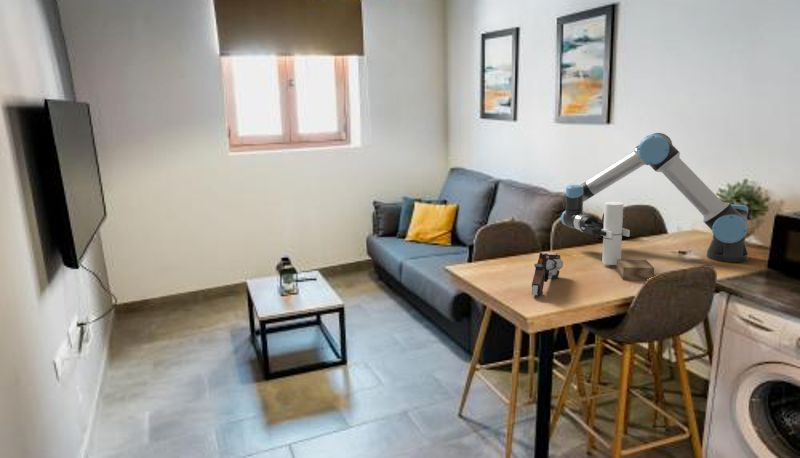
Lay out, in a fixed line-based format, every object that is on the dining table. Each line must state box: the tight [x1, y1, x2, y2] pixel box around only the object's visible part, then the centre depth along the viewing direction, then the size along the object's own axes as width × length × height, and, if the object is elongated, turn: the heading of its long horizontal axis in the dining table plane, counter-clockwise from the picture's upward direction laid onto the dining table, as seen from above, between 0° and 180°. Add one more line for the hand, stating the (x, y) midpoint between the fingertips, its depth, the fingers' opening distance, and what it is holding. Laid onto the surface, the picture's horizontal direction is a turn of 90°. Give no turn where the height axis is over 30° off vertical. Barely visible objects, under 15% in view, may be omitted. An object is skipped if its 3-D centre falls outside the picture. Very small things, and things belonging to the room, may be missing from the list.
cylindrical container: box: [601, 201, 624, 266], centre depth 226 cm, size 7×7×25 cm
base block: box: [615, 258, 655, 281], centre depth 215 cm, size 11×11×5 cm
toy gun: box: [531, 252, 564, 296], centre depth 206 cm, size 5×28×15 cm, turn 150°
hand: (620, 234), depth 221 cm, fingers closed on cylindrical container, 7 cm apart
